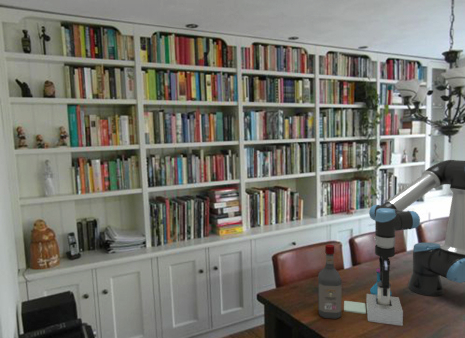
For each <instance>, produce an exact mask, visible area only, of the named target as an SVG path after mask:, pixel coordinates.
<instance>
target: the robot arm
mask: <svg viewBox="0 0 465 338" xmlns="http://www.w3.org/2000/svg"><path fill="white" fill-rule="evenodd" d="M444 185H450V187H449V189H450V191H451V192H452V197H451V204H450V210H449V213H448V214H449V215H448V222H447V227H446V233H445V237H444V238H445V239H444V244H442V245H441V244H440V243H435V242H417V243H415V244H414V245H413V251H412V273H411V276H410V278H409V280H408V283H407V284H408V285H407V286H408V289H409V290H411V291H412V292H413V293H416V294H419V295H423V296H427V297H428V296H429V297H437V296H441V295H443V294H444V286H443V283H442V279H441V277H442V278H445V279H447V280H449V281H452V282H455V283H457V284H458V283H459V284H460V283H461V284H462V283H465V160H458V159H457V160H455V159H447V160H442V161H440V162H437V163H436V164H434V165H432V166H430V167H428V168H427V169H426V170H424V171H423V172H422V173H421V176H419V177H418V178H416V179H415V180H414V181H412V182H411V183H410V184H408V185H407V186H406V187H405V188H404V187H403V189H401V190H400V191H398V192H397V193H396V194H395V195H393V196H392V197H391V198H389V199H388V200H386V201H385V202H384V203H382V204H373V205H372V206H370V208H369V211H368V212H369V213H368V214H369V217H370V218H371V220H372V221H375V223H374V225H375V227H374V228H375V230H374V231H375V234H374V235H375V236H374V237H373V240H374V241H375V245H374V253H375V255H376V256H377V257H378V262H379V268H380V281H382V286H380V288H381V303H388V289H389V283H390V271H391V269H390V267H391V260H390V258H392V257H394V256H395V250H396V248H395V246H396V231H397V232H399V231H406V230H412V229H416V228H418V227H419V226H420V225H421V218H420V215H419V214H418V213H417V212H416V211H414V210H406V209H407V208H409V207H410V206H411V205H413V204H414V203H415V202H417V201H418V200H419V199H421V198H422V197H423V196H424V195H426V194H427V193H429V192H431V190H433V189H437V188H440V187H441V186H444ZM404 210H406V211H404Z"/></svg>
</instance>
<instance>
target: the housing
mask: <svg viewBox="0 0 465 338" xmlns="http://www.w3.org/2000/svg"><path fill="white" fill-rule="evenodd" d="M365 308H366V314H367V315H366V316H367V321H368V322H371V323H378V324H387V325H394V326H402V327H404V326H403V325H404V324H403V323H404V321H403V320H404V319H403V317H404V310H403V308H402V304H401V301H400V298H399V297H398V296H397V297H396V296H392V295H391V296H390V306H386V305H378V295H373V294H371V293H366V303H365Z"/></svg>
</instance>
